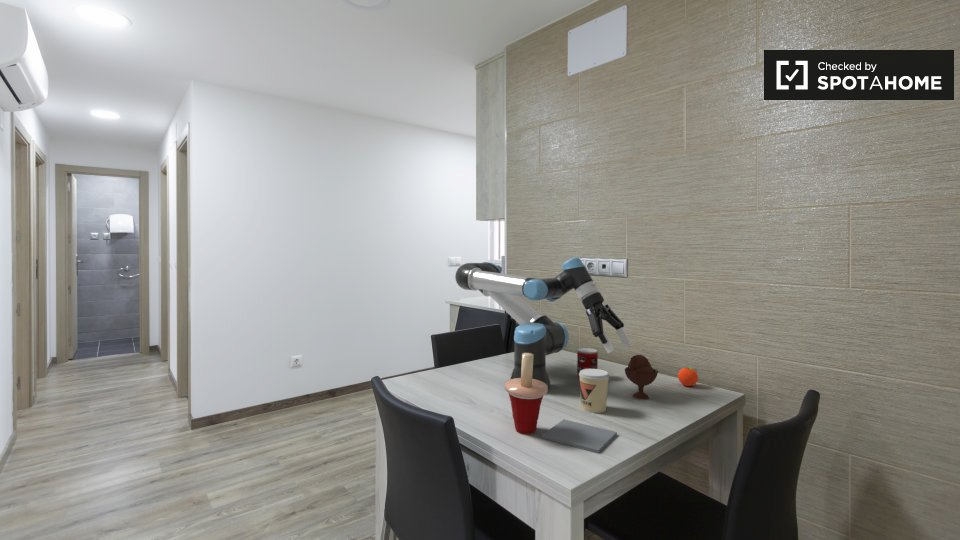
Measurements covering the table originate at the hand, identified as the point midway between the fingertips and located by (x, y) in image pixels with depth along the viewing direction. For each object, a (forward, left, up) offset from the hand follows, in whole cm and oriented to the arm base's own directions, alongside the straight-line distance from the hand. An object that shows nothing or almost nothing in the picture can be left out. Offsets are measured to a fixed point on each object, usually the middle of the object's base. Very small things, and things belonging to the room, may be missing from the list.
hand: (620, 348), depth 157 cm
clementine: (+18, +26, -17) cm, 36 cm away
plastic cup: (-11, -47, -17) cm, 51 cm away
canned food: (-18, +15, -17) cm, 29 cm away
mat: (+3, -42, -17) cm, 45 cm away
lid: (-11, -47, -5) cm, 48 cm away
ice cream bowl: (+7, +2, -17) cm, 18 cm away
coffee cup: (-2, -19, -17) cm, 25 cm away
